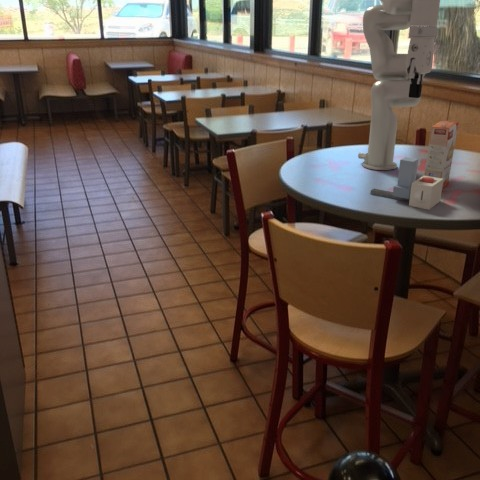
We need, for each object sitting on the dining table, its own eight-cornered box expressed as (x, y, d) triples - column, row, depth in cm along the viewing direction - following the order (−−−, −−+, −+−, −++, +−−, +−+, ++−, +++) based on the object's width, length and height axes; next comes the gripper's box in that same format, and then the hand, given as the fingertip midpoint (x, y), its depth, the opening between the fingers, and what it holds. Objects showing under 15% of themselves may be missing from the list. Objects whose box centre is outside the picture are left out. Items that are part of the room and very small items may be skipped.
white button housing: (408, 205, 152) (411, 183, 149) (420, 197, 160) (423, 175, 157) (428, 210, 149) (431, 186, 146) (440, 200, 156) (443, 178, 153)
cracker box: (440, 193, 163) (450, 127, 155) (421, 191, 166) (430, 125, 158) (449, 183, 174) (459, 120, 166) (431, 180, 177) (440, 119, 169)
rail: (370, 193, 163) (370, 190, 163) (373, 192, 165) (373, 188, 164) (413, 202, 155) (413, 198, 155) (416, 200, 157) (416, 196, 156)
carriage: (392, 195, 156) (396, 160, 152) (401, 190, 161) (405, 156, 157) (408, 199, 153) (413, 163, 149) (417, 193, 158) (421, 158, 154)
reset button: (419, 188, 152) (420, 179, 151) (423, 186, 155) (424, 176, 153) (430, 190, 150) (431, 181, 149) (434, 188, 153) (435, 178, 152)
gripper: (426, 33, 143) (417, 101, 150) (443, 32, 153) (434, 95, 161) (400, 33, 147) (393, 99, 154) (418, 32, 158) (411, 94, 165)
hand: (414, 97), depth 157 cm, fingers closed
